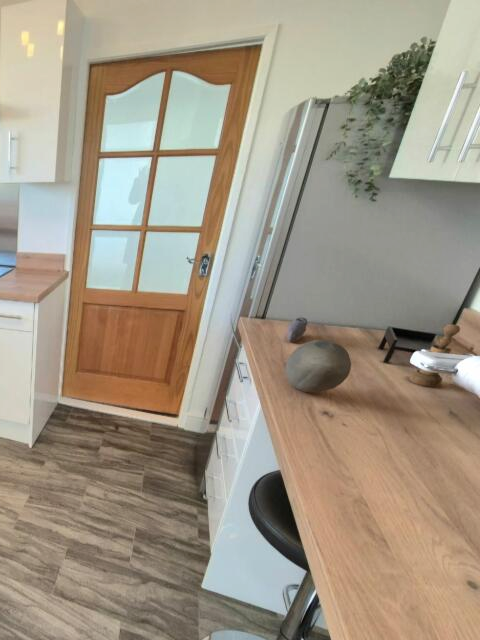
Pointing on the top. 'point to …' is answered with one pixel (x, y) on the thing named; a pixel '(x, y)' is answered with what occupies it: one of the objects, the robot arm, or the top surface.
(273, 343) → the top surface
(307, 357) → the cantaloupe
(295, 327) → the perforated stone tool
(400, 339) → the tray
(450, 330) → the mortar and pestle
